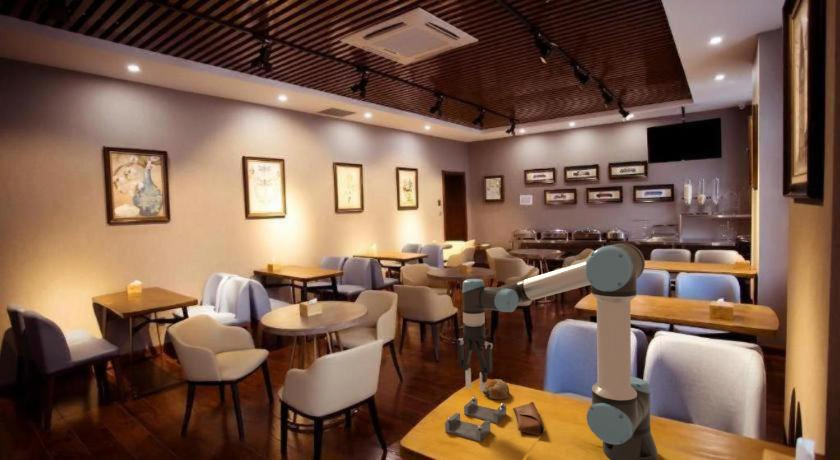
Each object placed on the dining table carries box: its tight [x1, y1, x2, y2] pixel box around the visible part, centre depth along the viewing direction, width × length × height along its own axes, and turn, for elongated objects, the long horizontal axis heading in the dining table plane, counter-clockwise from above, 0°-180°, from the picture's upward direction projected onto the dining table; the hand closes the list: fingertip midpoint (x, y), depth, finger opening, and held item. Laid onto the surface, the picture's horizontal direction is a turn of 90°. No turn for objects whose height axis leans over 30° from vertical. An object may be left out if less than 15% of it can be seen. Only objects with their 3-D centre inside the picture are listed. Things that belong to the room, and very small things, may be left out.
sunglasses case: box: [512, 401, 545, 436], centre depth 154 cm, size 18×7×7 cm
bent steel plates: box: [444, 396, 507, 443], centre depth 155 cm, size 13×22×4 cm, turn 147°
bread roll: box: [482, 378, 510, 401], centre depth 176 cm, size 10×10×8 cm
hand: (475, 389), depth 155 cm, fingers open, 5 cm apart
